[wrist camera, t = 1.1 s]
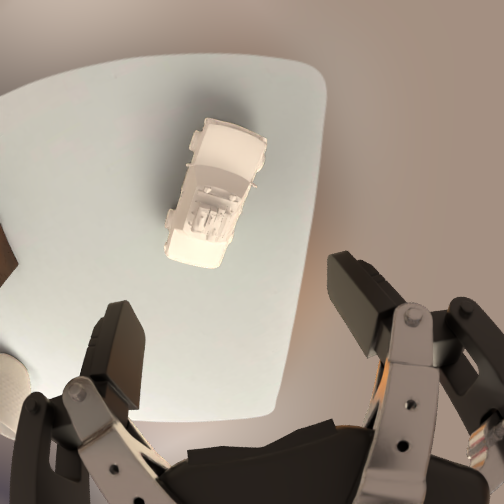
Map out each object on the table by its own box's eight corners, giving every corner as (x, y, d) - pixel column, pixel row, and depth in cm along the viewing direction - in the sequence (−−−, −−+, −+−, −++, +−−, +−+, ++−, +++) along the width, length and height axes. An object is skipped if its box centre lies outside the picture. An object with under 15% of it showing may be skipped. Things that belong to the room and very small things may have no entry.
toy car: (267, 136, 22) (293, 146, 16) (220, 255, 26) (227, 298, 21) (200, 113, 20) (201, 112, 14) (160, 239, 24) (150, 281, 19)
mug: (56, 399, 35) (45, 456, 23) (16, 389, 32) (2, 440, 21) (21, 348, 28) (-4, 415, 16) (-19, 338, 25) (-44, 395, 14)
